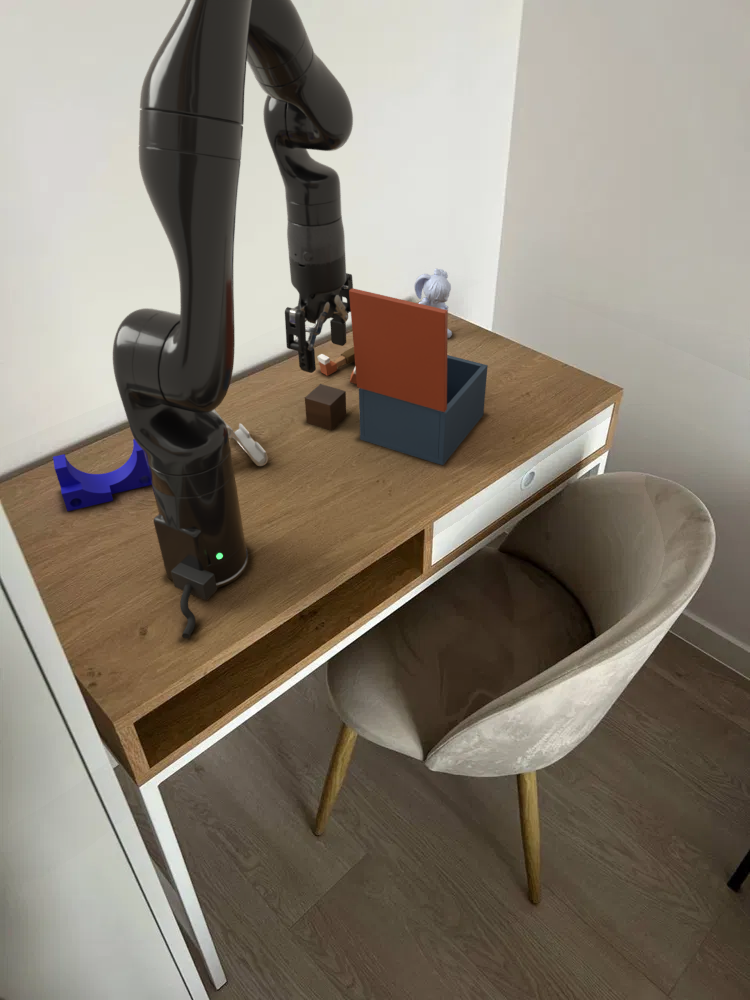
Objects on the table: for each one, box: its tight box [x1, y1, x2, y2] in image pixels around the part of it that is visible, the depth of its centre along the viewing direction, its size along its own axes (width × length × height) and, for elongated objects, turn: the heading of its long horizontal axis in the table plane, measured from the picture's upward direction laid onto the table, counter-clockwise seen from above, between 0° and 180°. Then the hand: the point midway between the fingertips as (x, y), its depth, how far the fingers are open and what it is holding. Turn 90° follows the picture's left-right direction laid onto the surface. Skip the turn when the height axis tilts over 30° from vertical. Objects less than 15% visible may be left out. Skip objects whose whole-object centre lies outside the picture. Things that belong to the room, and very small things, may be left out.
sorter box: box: [358, 354, 489, 466], centre depth 120 cm, size 15×14×9 cm
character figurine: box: [316, 346, 357, 385], centre depth 138 cm, size 12×5×18 cm
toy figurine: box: [413, 268, 453, 339], centre depth 141 cm, size 7×6×12 cm
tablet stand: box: [213, 409, 269, 467], centre depth 115 cm, size 9×8×8 cm
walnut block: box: [304, 383, 347, 431], centre depth 123 cm, size 4×4×4 cm
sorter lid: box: [349, 287, 449, 412], centre depth 107 cm, size 15×14×1 cm
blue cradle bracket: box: [52, 438, 152, 512], centre depth 110 cm, size 12×4×6 cm, turn 111°
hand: (323, 357), depth 118 cm, fingers open, 8 cm apart
